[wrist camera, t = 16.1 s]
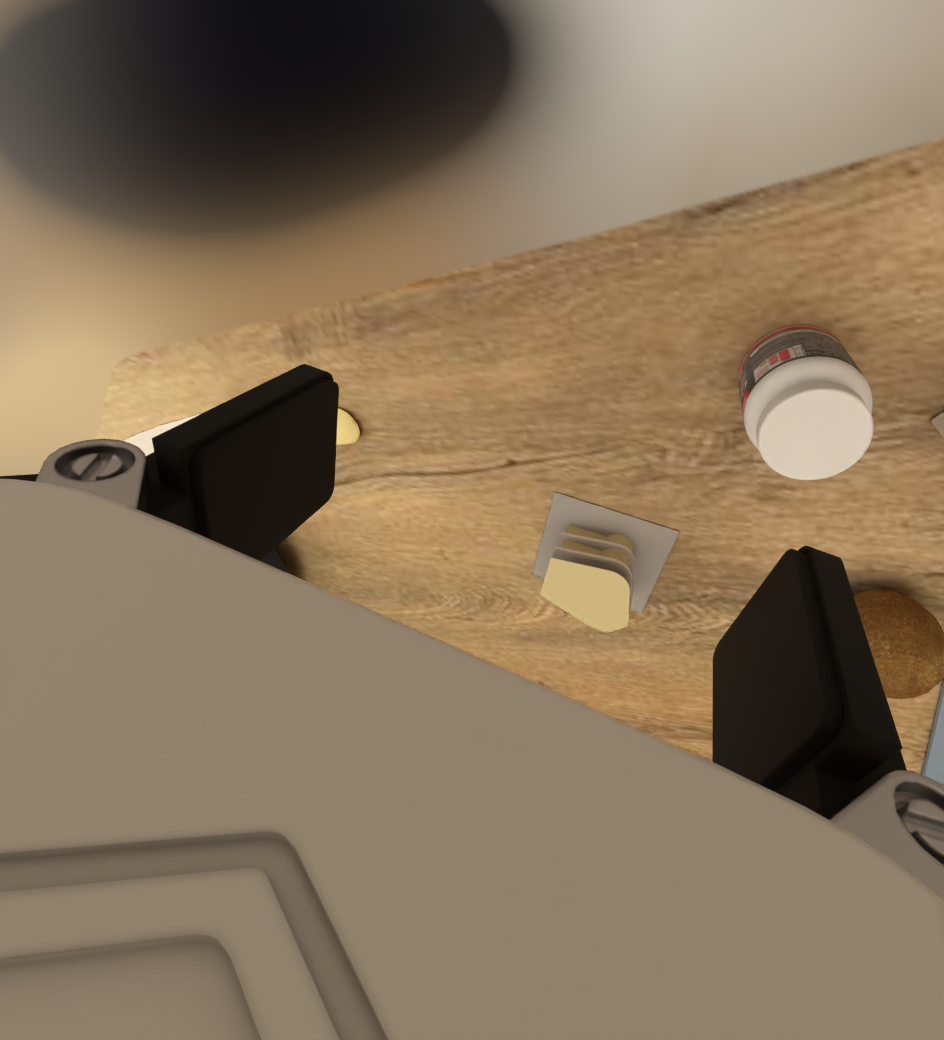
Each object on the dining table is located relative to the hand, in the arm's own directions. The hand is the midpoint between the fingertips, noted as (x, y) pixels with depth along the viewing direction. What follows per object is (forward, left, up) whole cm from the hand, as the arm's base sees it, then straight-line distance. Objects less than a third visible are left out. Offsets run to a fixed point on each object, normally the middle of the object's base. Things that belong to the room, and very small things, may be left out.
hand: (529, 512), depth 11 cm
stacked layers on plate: (+21, +4, -28) cm, 36 cm away
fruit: (+16, +23, -28) cm, 40 cm away
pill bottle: (+3, +10, -28) cm, 30 cm away
